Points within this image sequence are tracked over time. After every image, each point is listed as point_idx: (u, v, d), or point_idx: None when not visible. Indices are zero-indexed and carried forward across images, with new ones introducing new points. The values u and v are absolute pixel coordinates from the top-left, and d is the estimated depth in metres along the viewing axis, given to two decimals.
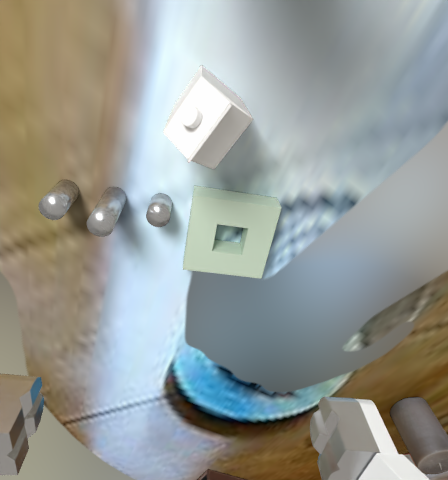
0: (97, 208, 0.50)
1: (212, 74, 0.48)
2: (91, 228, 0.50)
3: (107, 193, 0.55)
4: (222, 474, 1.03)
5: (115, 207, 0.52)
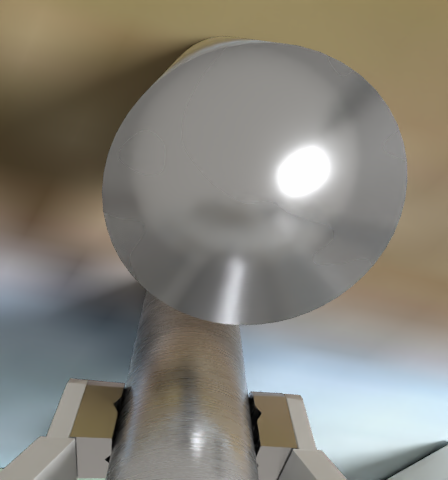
0: None
1: None
2: None
3: (242, 356, 0.11)
4: None
5: None
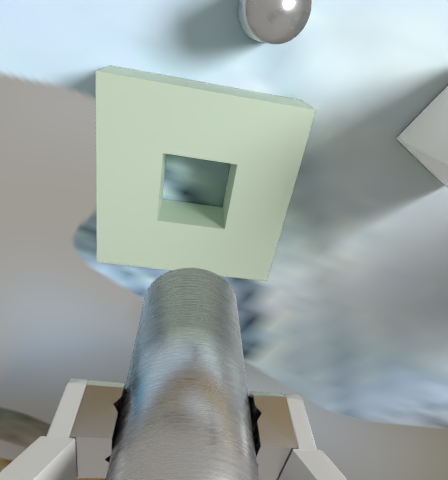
0: None
1: None
2: None
3: (243, 357, 0.11)
4: None
5: None
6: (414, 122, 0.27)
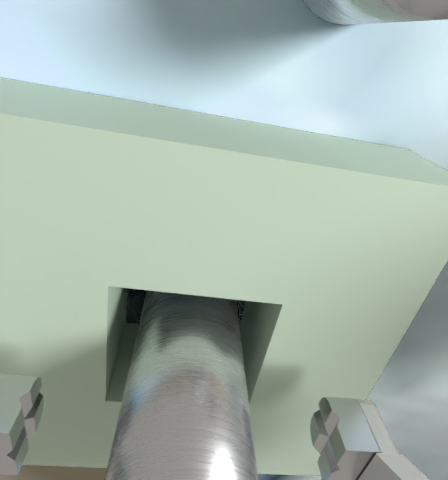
0: (255, 471, 0.08)
1: None
2: None
3: None
4: None
5: None
6: None
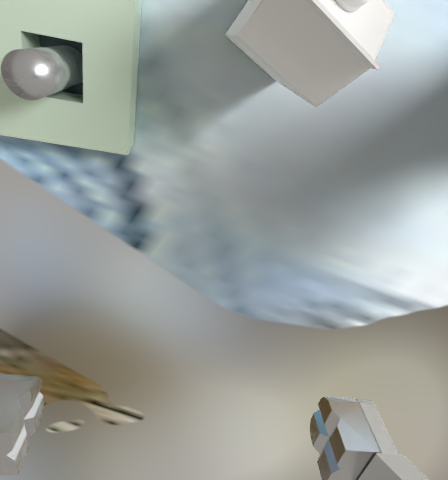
0: (56, 66, 0.29)
1: None
2: (14, 56, 0.27)
3: (76, 64, 0.33)
4: None
5: (60, 90, 0.31)
6: (235, 19, 0.34)
